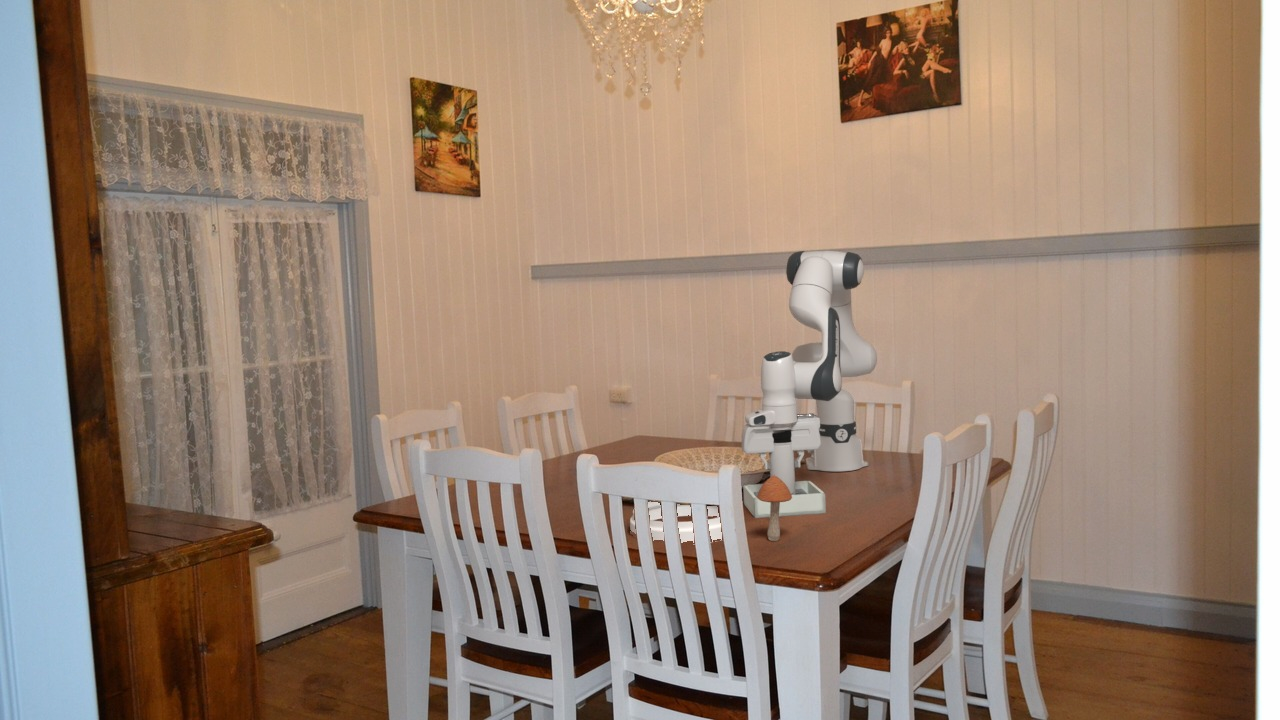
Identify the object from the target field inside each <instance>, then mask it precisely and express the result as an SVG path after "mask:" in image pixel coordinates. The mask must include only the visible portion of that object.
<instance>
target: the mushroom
mask: <svg viewBox="0 0 1280 720" xmlns="http://www.w3.org/2000/svg"><path fill="white" fill-rule="evenodd" d="M762 484H763V485H762V487H761V488H760V490H759V493H758V495H757V498H758V499H759V500H760V501H764V502H771V503H770V517H769V522H768V527H767V533H766V534H767V538H768V540H769V541H771V542H779V540H780V536H781V528H780V516H779V508H780V502H786V501H789V500H791V499H792V495H791V493H790V491H789V489H788V487H787V486H786V484H785V483H784V482H783V481H782V480H781V479H780V478H778V477H777V476H775V475H774V476H772V477H769V478H767V479H766V480H765V481H764V483H762Z"/></svg>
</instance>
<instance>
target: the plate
mask: <svg viewBox="0 0 1280 720" xmlns="http://www.w3.org/2000/svg"><path fill="white" fill-rule="evenodd" d="M648 508H649V515H650V528H651V533H652V537H653V541H654V540H663V541H664V532H663V522H664V521H663V522H662V521H661V520H660V519H663V518H662V516H661V505H660V503H658V502H651V501H648ZM707 509H708V516H707V517H713V516H717V517H714V518H708V519H707V520H708V524H709V531H710V536H711V539H712V542H711V543H714V542H713V540H717V539H721V540H720V541H723V540H722V532H721V523H720V517H719V513H718V507H717V506H707ZM677 513H678V516H677V517H692V516H691V507H690V505H680V504H677ZM688 515H689V516H688ZM692 521H693V520H691V521H677V522H678V528H679V534H680V539H681V543H683V542H687V541H693V543H694V533H693V523H692ZM629 527H630V530H631V531H632V532H634V533H635V534H636V529H635V520H634V509H633V510H632V516H631V517H630V519H629ZM631 531H630V532H631Z"/></svg>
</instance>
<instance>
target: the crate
mask: <svg viewBox="0 0 1280 720" xmlns="http://www.w3.org/2000/svg"><path fill="white" fill-rule="evenodd" d="M763 484H764V483H755V484H743V485H742V490H743V491H742V492H743V493H742V494H743V505H744V506H745V507H746V508H747V510H748V511H749V512H750V514H751V515H752V516H753V517H754V519H760V518H761V519H762V518H770V503H771V502H764V501H760V500H759V499H758V498H757V495H758V493H759V490H760V488H761V487H762V485H763ZM795 491H796V495H792V499H791V500H789V501H786V502H780V508H779V517H787V516H788V517H790V516H791V517H793V516H802V515H803V516H804V515H805V516H806V515H817V514H819V515H820V514H826V513H827V508H826V507H827V506H826V504H827V503H826V493H825V492H824V491H823V490H822V489H820V488H819V487H818V486H817V485H816V484H815V483H813V482H812V481H811V480H799V481H795Z"/></svg>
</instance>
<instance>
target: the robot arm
mask: <svg viewBox="0 0 1280 720" xmlns="http://www.w3.org/2000/svg"><path fill="white" fill-rule="evenodd" d="M864 274H865V266H864V262H863V258H862V257H861V256H860V254H858V253H854V252H851V251H847V252H844V251H838V250H826V249H825V250H813V251H812V250H811V251H805V250H801V251H800V250H799V251H795V252H793V253H792V254H790V256H789V257H788V259H787V263H786V265H785V275H786V279H787V282H788V283H789V284H790V285H791V290H790V293H789V294H790V295H789V299H788V308H789V311H790V313H791V315H792V317H793V318H794V319H795V320H796V321H797V322H799V323H801V324H802V325H803V326H805V327H807V328H810V329H813V330H816V331H818V332H820V333H821V342H808V343H805V344H802V345H798V346H796V347H795V348H794V350H792V352H789V351H783V350H782V351H774V352H770V353H767V354H766V355H764V356H763V357H762V362H761V370H760V384H761V385H760V388H761V392H762V397H763V398H762V402H761V406H762V407H761V408H760V409H758V410H756V411H753V412H750V413H747V414H746V415H745V417H744V420H745V423H746V424H745V425H744V426H743V428H742V431H741V450H742V452H743V453H745V454H747V455H752V454H758V455H759V458H760V459H761V461H762V462H763V469H764V471H770V470H771V467H770V466H771V463H770V461H767V460H766V457H767V454H769V453H770V452H773V451H774V445H773V443H774V439H773V437H772V433H780V432H785V431H789V430H791V434H792V436H791V442H792V444H791V445H792V451H794V452H796V454H798V455H797V457H796V459H794V469H800V468H801V461H802V459H803V458H804V455H805V451H807V453H808V454H811V455H810V457H806V458H805V464H806V468H807V470H811V471H822V472H849V471H851V472H852V471H855V470H859V469H862V468H864V467H868V466H869V463H868V461H865V460H864V455H863V445H862V440H861V438H860V437H858V436H857V428H858V427H857V423H856V421H855V405H854V397H853V395H852V394H851V393H850V392H848V391H847V390H845V389H843V388H842V386H843V383H842V381H843V379H842V378H854V377H856V378H857V377H860V376H864V375H868V374H871V373H872V372H873V371H874V370H875V368H876V366H877V363H878V355H877V351H876V349H875V348H874V346H873V345H872V344H871V343H870V342H868V341H867V340H866V339H864V338H863V337H862V336H861V335H860V334H859V333H858V331H857V330H856V328H855V326H854V320H853V309H852V289H855V288H857V287H858V286H860V285H861V283H862V280H863V278H864ZM797 400H815V404H816V410H817V411H816V412H817V414H815V413H799V414H798V404H797V403H798V402H797Z"/></svg>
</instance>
